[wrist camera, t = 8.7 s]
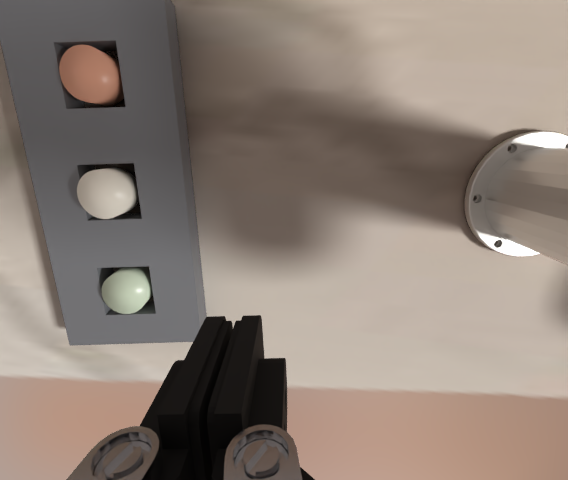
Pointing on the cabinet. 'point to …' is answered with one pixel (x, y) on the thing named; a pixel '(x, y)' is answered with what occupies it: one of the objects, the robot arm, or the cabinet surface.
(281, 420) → the robot arm
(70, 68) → the terracotta button
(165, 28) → the button panel
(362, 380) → the cabinet surface
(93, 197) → the cream button
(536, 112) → the cabinet surface
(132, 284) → the sage button
